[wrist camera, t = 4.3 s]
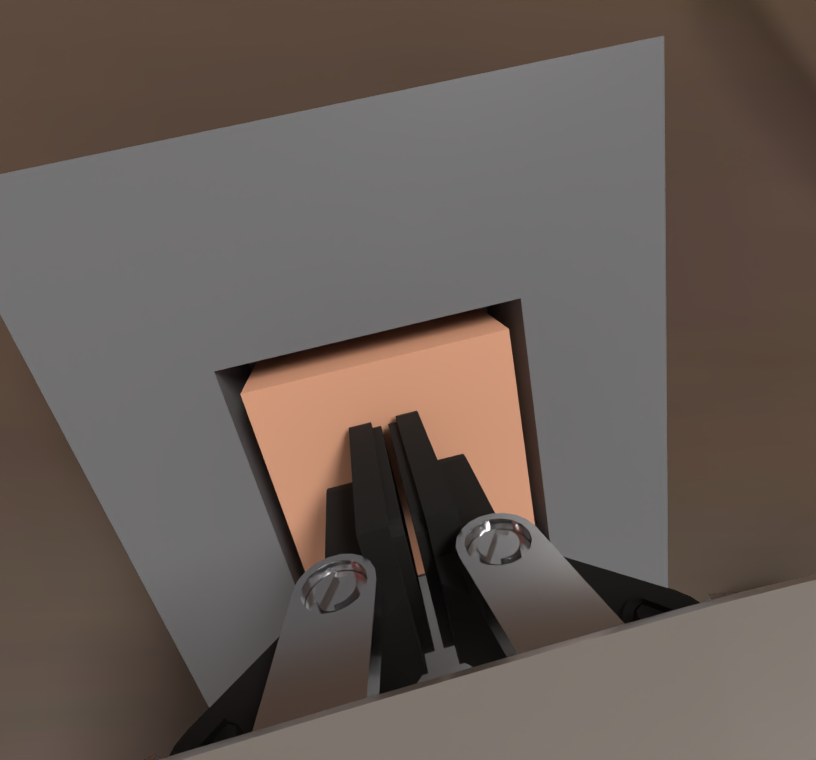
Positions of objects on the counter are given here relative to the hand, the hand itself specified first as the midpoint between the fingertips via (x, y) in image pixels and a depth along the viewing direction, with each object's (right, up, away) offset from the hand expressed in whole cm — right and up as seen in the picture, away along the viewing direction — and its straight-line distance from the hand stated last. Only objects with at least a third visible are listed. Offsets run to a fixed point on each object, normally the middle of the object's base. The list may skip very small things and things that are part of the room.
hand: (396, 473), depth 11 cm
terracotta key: (0, +1, +3) cm, 3 cm away
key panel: (+1, -4, +6) cm, 8 cm away
